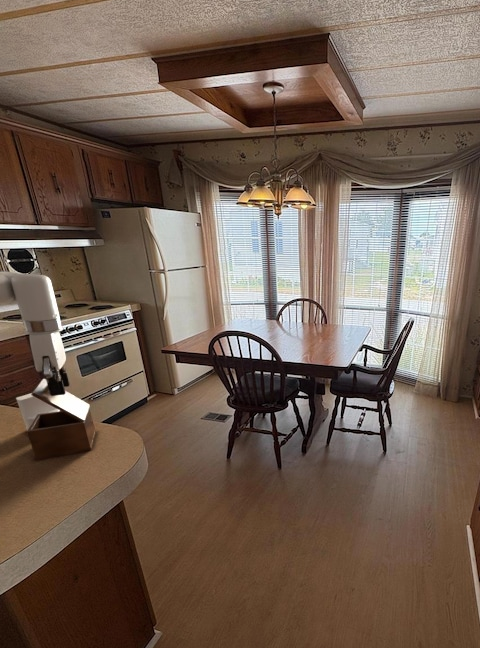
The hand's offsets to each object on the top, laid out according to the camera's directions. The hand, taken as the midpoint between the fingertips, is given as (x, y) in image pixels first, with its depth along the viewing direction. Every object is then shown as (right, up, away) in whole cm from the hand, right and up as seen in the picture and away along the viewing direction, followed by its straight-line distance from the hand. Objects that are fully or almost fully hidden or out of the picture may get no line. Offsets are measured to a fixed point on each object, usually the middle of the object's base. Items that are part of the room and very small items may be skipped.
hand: (60, 390), depth 94 cm
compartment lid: (-1, -3, +1) cm, 3 cm away
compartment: (-2, -16, +6) cm, 17 cm away
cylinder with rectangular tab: (-15, -13, +14) cm, 24 cm away
